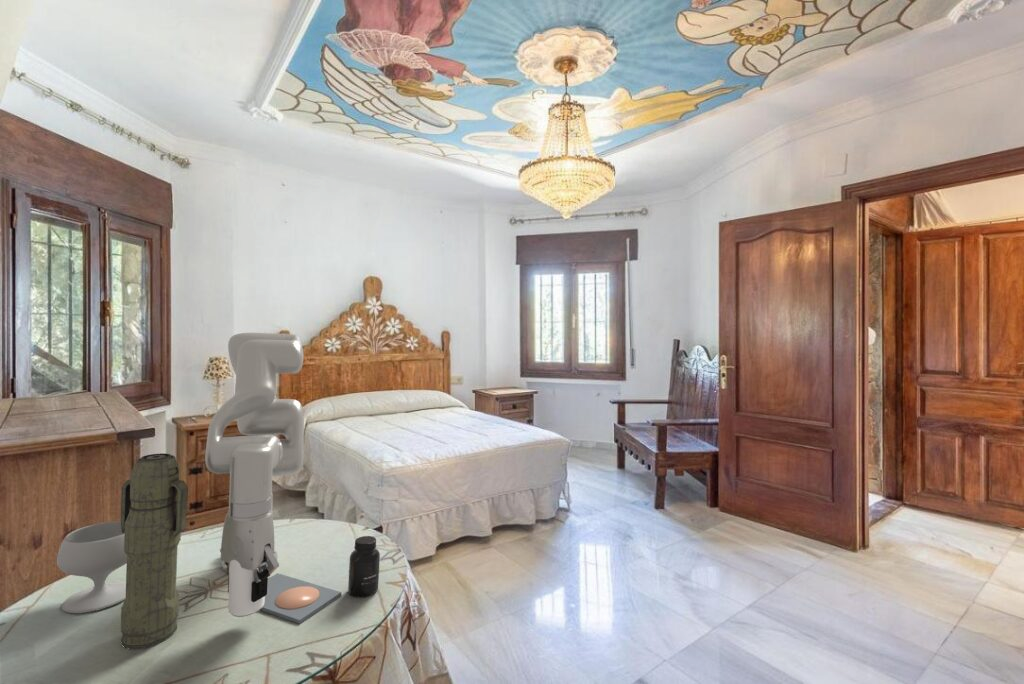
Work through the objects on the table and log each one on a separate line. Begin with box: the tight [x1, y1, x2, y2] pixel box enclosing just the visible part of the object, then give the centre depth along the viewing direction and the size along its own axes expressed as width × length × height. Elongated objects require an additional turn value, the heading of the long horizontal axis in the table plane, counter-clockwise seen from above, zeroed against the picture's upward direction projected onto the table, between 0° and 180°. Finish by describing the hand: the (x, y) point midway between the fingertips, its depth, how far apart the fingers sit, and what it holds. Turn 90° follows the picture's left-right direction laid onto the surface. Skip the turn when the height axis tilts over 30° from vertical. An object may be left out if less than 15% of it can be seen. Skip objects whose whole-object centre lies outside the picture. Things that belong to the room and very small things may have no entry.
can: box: [227, 556, 265, 618], centre depth 95 cm, size 6×6×12 cm
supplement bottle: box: [347, 535, 381, 598], centre depth 111 cm, size 7×7×12 cm
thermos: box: [120, 453, 189, 650], centre depth 92 cm, size 9×12×35 cm
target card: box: [259, 572, 342, 625], centre depth 106 cm, size 20×12×1 cm, turn 68°
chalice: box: [56, 520, 127, 614], centre depth 103 cm, size 14×14×15 cm
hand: (247, 593), depth 95 cm, fingers closed on can, 5 cm apart
